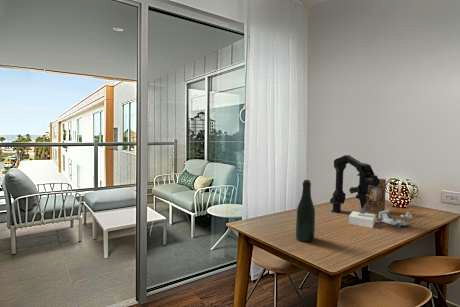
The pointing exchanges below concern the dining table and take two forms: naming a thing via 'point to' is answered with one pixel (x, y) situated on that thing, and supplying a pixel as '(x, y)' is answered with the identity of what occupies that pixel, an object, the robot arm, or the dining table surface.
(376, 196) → the book
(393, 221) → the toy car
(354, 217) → the socket block
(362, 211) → the peg
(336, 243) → the dining table surface
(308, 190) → the beer bottle
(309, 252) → the dining table surface
